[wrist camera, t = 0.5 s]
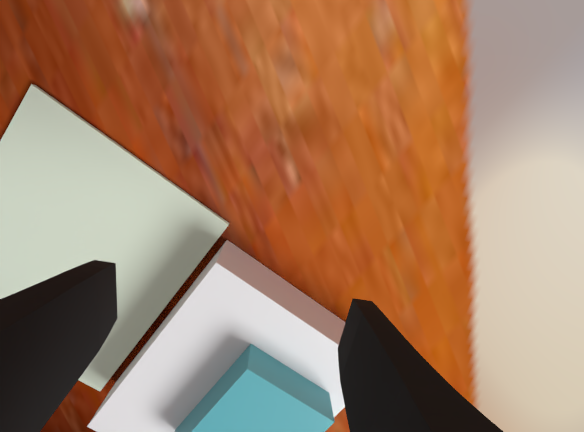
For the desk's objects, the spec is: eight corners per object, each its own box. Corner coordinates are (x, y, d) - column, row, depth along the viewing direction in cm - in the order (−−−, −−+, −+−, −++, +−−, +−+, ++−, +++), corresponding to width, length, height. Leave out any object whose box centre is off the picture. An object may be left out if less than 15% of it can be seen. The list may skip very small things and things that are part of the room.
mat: (102, 388, 23) (99, 391, 23) (-79, 291, 20) (-84, 294, 20) (229, 223, 20) (228, 224, 20) (35, 84, 17) (31, 84, 17)
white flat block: (248, 454, 25) (243, 505, 22) (115, 382, 23) (87, 426, 20) (364, 335, 23) (379, 372, 19) (226, 239, 20) (216, 262, 17)
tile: (252, 470, 21) (249, 504, 19) (175, 429, 20) (163, 462, 18) (329, 392, 20) (334, 422, 18) (250, 343, 18) (247, 368, 16)
